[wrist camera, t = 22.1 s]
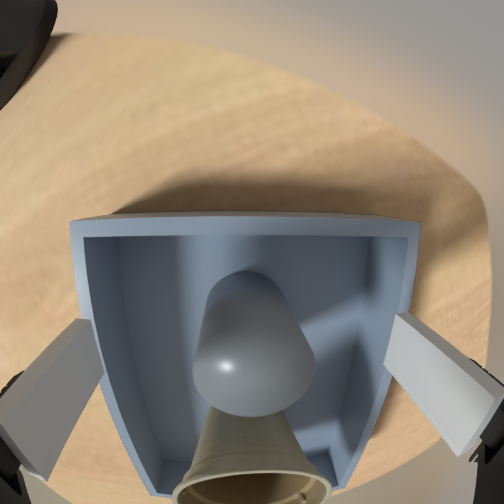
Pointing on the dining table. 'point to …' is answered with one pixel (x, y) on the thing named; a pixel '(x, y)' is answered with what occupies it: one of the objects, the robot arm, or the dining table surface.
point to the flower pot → (250, 464)
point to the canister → (251, 348)
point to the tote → (192, 310)
